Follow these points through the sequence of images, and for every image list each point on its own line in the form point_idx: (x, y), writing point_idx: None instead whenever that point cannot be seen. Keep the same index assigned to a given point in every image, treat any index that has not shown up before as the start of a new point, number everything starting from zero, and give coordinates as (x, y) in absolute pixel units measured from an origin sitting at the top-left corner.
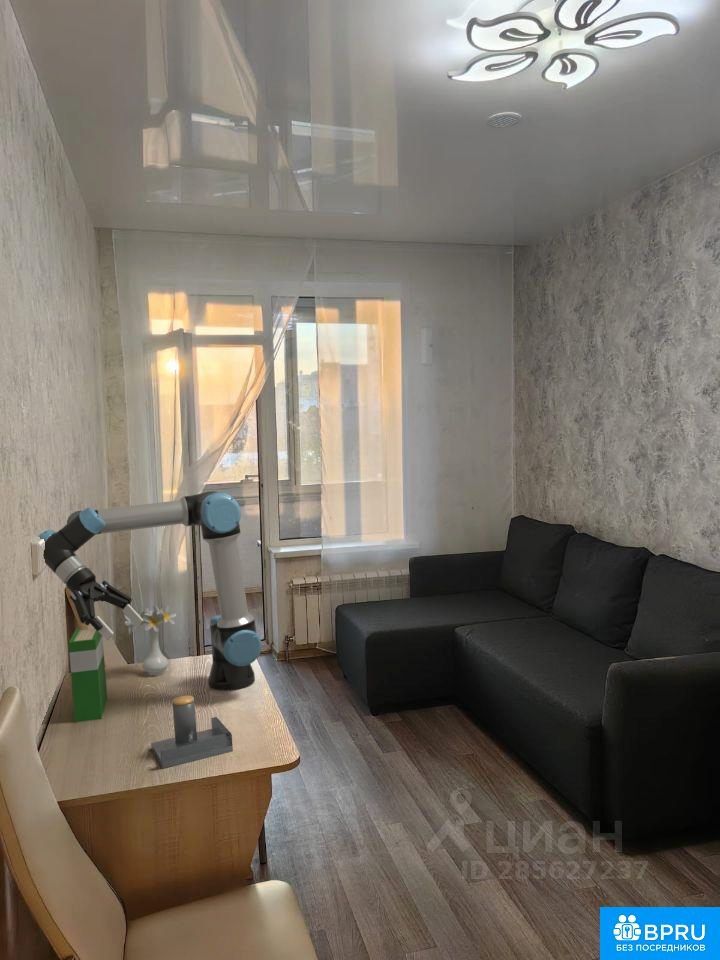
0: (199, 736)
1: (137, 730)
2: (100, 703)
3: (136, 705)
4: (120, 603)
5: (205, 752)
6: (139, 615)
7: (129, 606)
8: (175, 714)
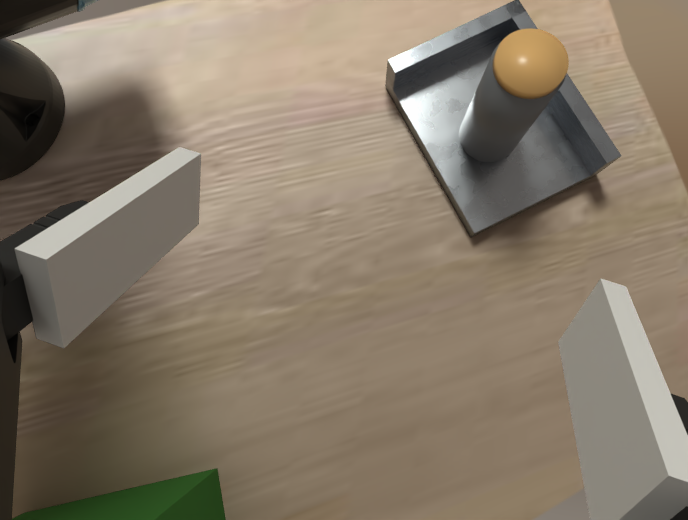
0: (442, 111)
1: (334, 314)
2: (192, 483)
3: (119, 380)
4: (6, 357)
5: None
6: (146, 167)
7: (70, 237)
8: (547, 104)
